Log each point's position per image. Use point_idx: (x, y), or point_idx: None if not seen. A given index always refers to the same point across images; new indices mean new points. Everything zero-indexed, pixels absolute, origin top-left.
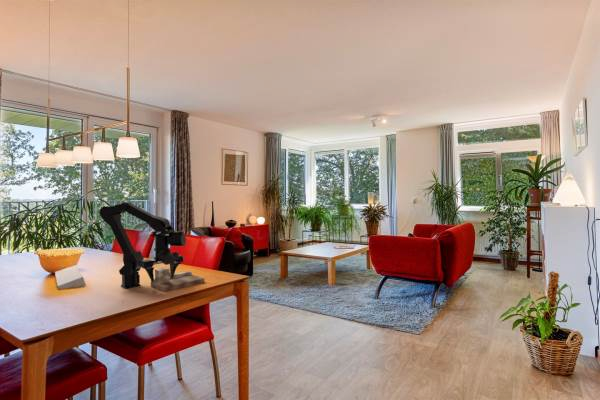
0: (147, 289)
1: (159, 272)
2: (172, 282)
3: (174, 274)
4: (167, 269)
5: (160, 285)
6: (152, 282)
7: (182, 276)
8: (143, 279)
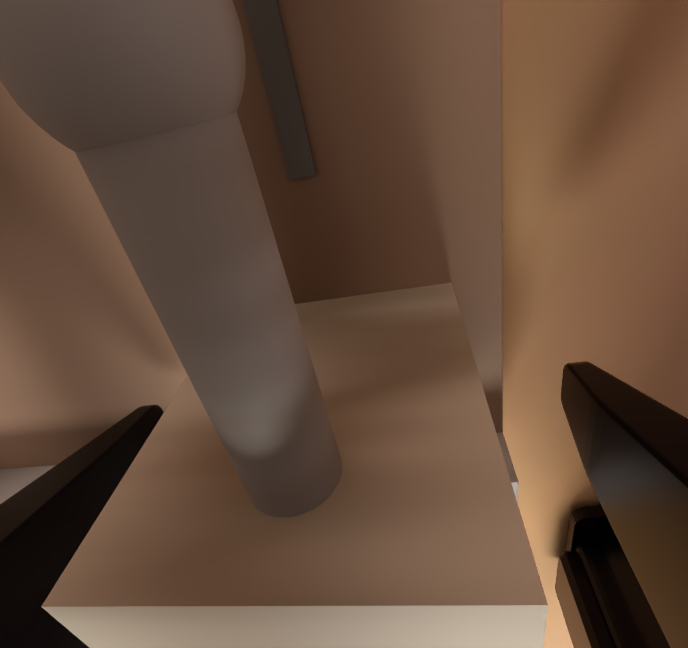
0: (615, 305)
1: (500, 513)
2: None
3: None
4: (135, 590)
5: (495, 112)
6: (502, 434)
7: (17, 466)
8: None
